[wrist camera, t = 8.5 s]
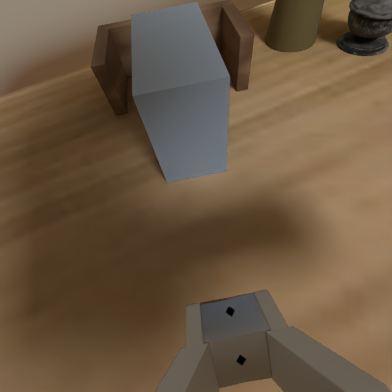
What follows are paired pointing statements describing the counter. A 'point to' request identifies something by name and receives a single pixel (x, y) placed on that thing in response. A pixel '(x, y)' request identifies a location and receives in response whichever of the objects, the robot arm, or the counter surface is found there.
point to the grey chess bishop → (367, 27)
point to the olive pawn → (294, 25)
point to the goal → (122, 51)
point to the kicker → (181, 90)
